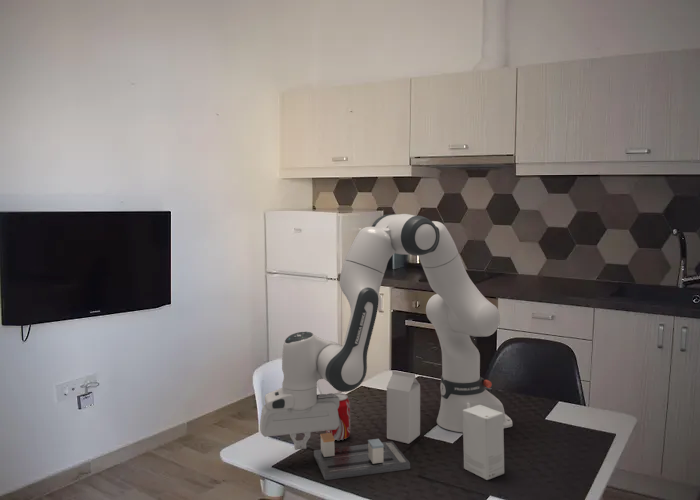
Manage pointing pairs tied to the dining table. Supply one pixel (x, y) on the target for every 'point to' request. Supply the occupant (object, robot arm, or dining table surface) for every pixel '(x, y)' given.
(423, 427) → the dining table surface
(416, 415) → the milk carton
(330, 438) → the fader
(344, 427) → the soda can
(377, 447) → the fader
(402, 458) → the console
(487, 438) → the skincare box
